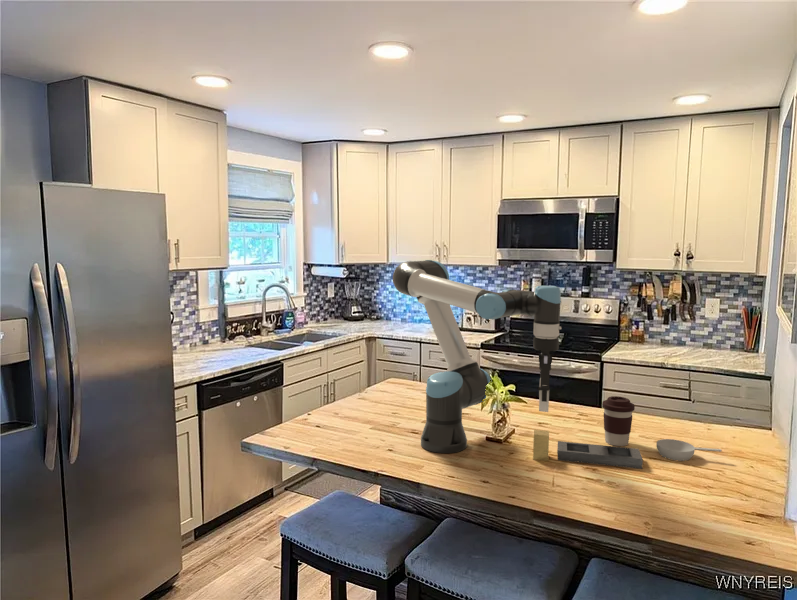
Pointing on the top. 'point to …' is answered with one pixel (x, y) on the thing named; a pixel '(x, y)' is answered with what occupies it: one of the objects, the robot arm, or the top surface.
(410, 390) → the top surface
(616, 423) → the coffee cup
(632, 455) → the gray slotted rack
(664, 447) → the small pan
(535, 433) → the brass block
